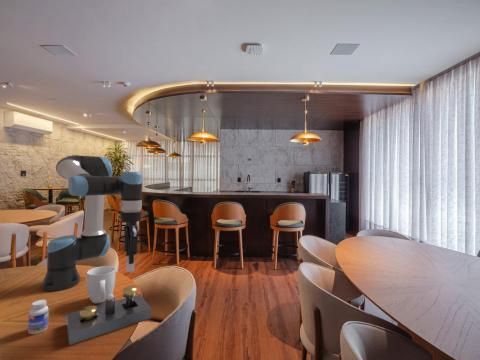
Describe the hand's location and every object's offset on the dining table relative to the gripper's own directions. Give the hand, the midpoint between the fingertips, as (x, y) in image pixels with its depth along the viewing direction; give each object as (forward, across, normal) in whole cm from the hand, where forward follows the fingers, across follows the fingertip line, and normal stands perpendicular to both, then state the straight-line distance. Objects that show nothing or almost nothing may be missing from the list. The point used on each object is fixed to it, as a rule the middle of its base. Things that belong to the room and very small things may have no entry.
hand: (130, 271), depth 96 cm
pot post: (+14, 0, -7) cm, 15 cm away
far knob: (+14, 0, 0) cm, 14 cm away
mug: (+18, -19, -7) cm, 27 cm away
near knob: (+18, 0, -14) cm, 22 cm away
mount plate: (+18, 0, -7) cm, 19 cm away
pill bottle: (+18, -9, -28) cm, 34 cm away
